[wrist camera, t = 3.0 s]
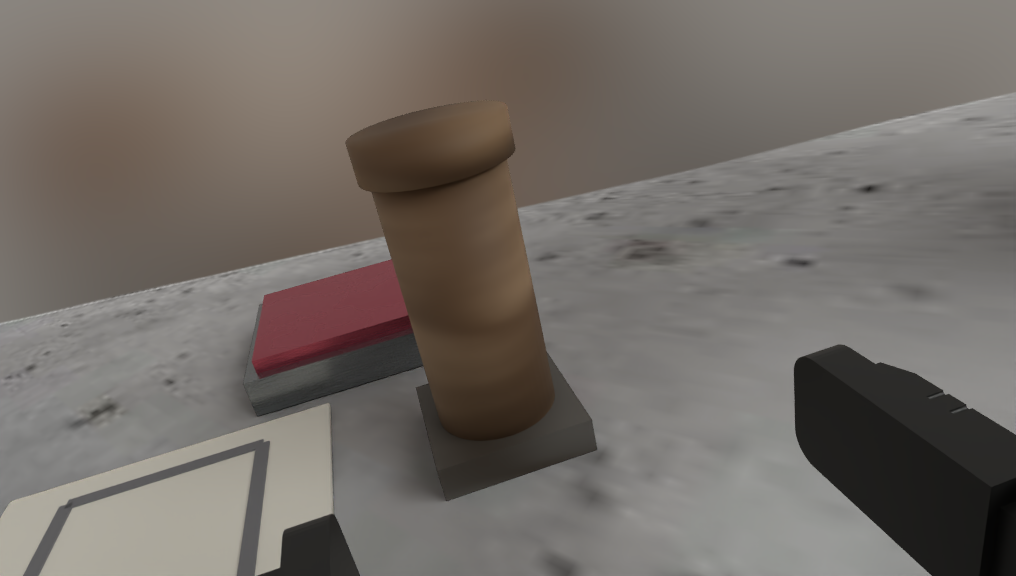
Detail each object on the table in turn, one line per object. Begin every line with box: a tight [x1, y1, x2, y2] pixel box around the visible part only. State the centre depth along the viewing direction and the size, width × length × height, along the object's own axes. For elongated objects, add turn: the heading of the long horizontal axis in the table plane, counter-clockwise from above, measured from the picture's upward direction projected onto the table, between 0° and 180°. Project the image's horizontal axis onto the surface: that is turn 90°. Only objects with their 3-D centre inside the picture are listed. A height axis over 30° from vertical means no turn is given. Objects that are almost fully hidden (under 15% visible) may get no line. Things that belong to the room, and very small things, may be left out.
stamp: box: [346, 101, 597, 501], centre depth 21 cm, size 5×5×11 cm
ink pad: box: [243, 259, 423, 416], centre depth 31 cm, size 8×8×2 cm
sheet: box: [0, 403, 333, 576], centre depth 22 cm, size 12×10×1 cm
